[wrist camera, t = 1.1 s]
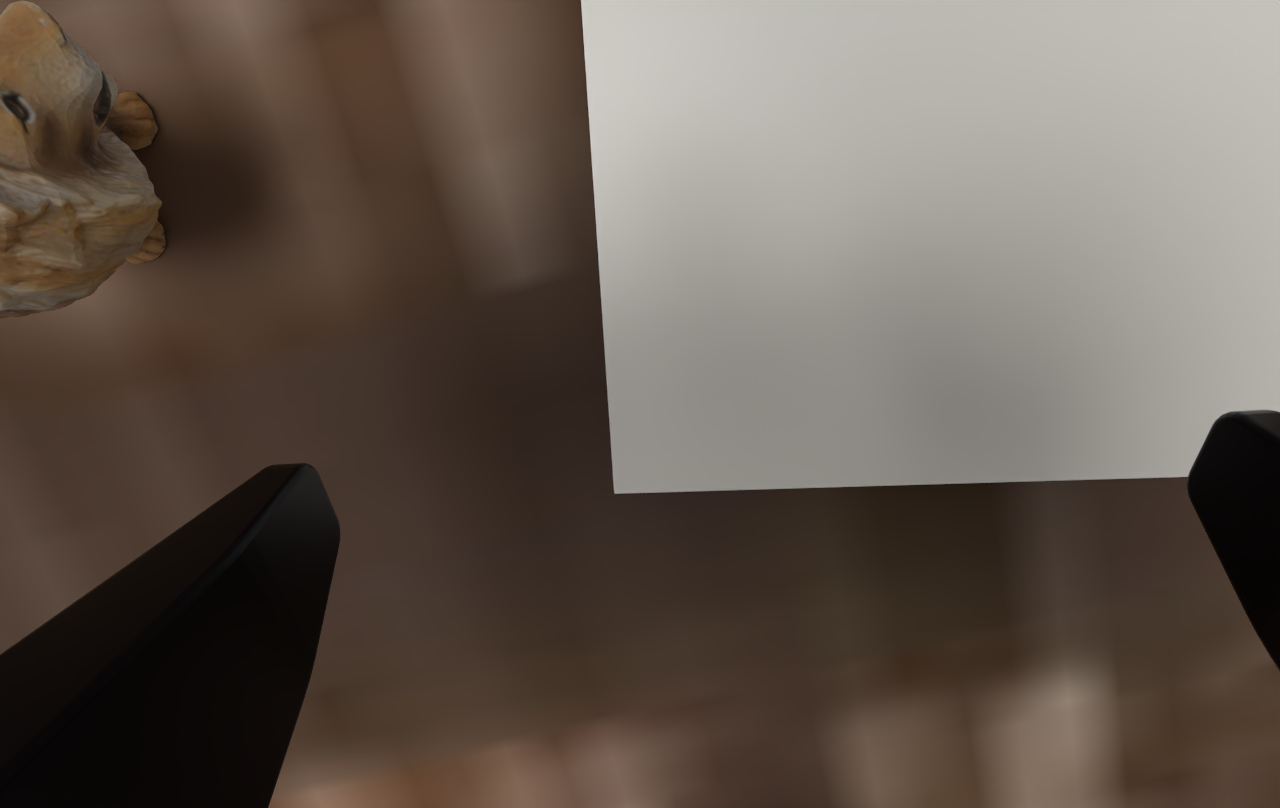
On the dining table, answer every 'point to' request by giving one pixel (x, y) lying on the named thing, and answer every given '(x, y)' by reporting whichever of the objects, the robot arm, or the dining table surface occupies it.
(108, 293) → the dining table surface
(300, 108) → the dining table surface
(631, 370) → the board
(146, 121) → the lion figurine
